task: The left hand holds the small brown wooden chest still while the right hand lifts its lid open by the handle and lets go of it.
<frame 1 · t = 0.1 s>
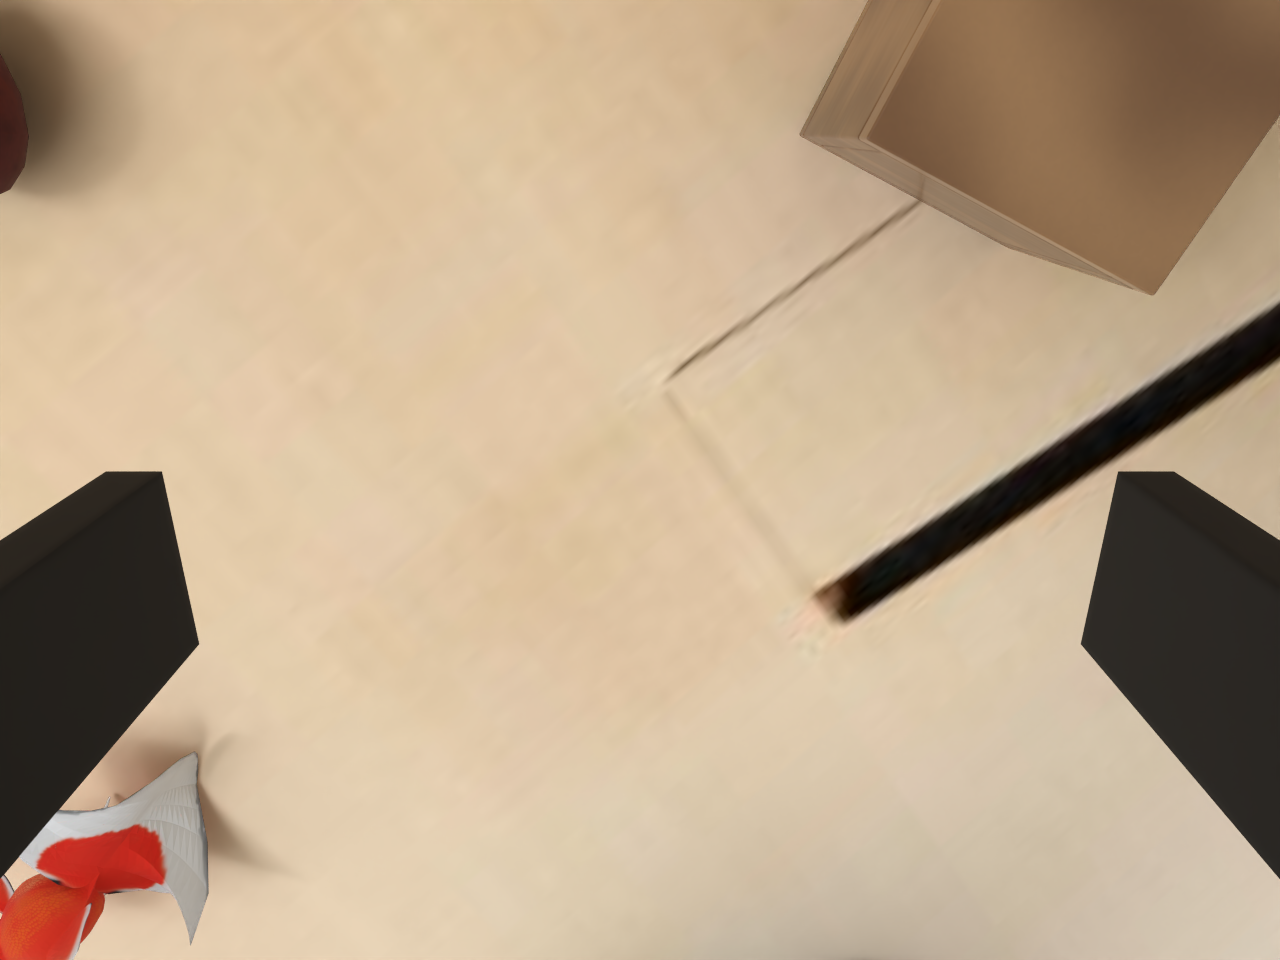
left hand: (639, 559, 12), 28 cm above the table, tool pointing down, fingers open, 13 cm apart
chest: (1000, 27, 35), on the table
fish: (128, 813, 50), on the table
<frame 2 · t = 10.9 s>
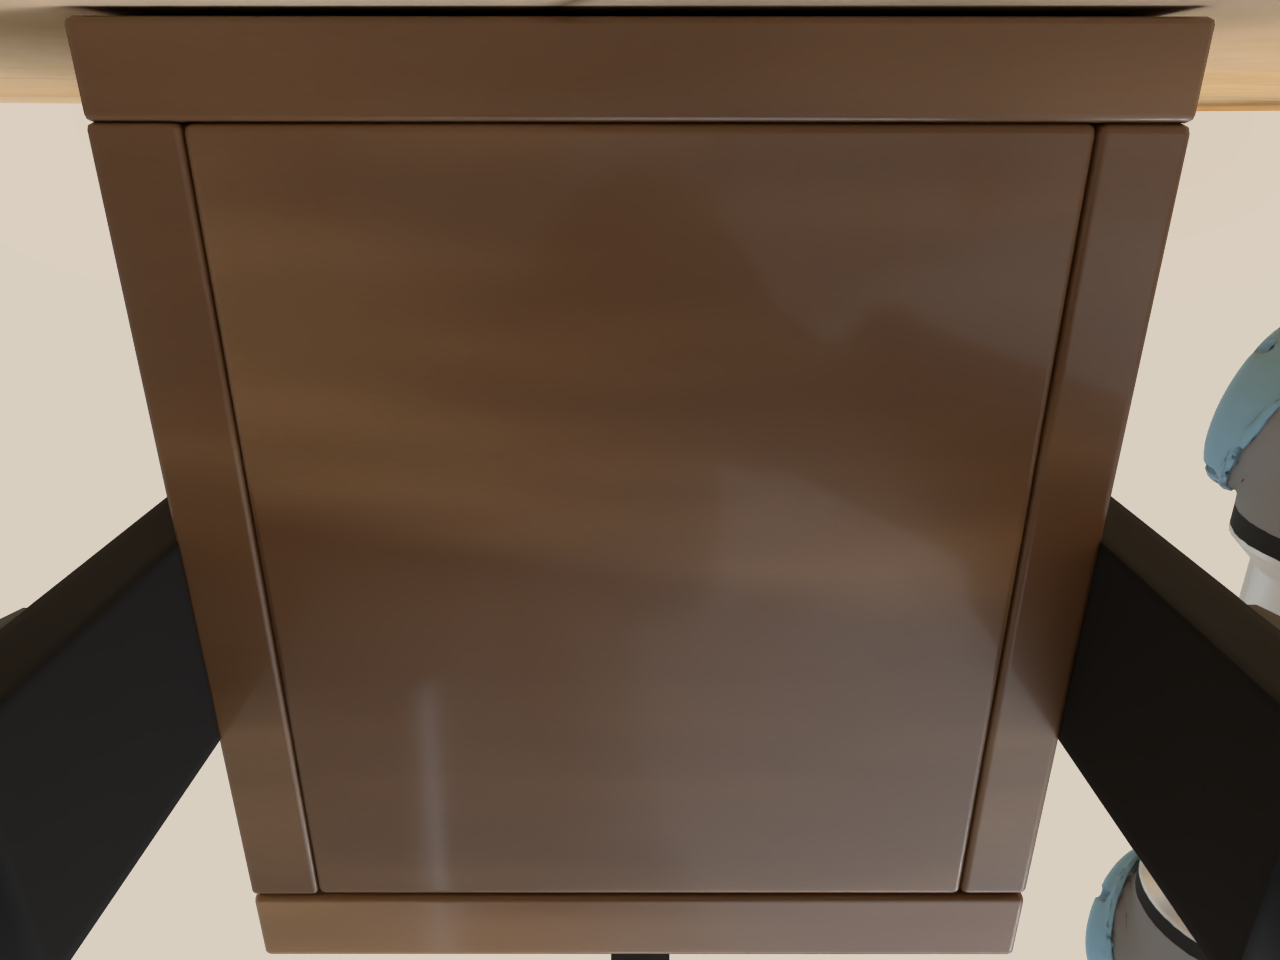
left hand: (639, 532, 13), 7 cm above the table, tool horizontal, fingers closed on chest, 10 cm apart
chest: (639, 62, 14), on the table, touching left hand
lid: (639, 768, 20), point 15 cm above the table, hinge at 0.0°
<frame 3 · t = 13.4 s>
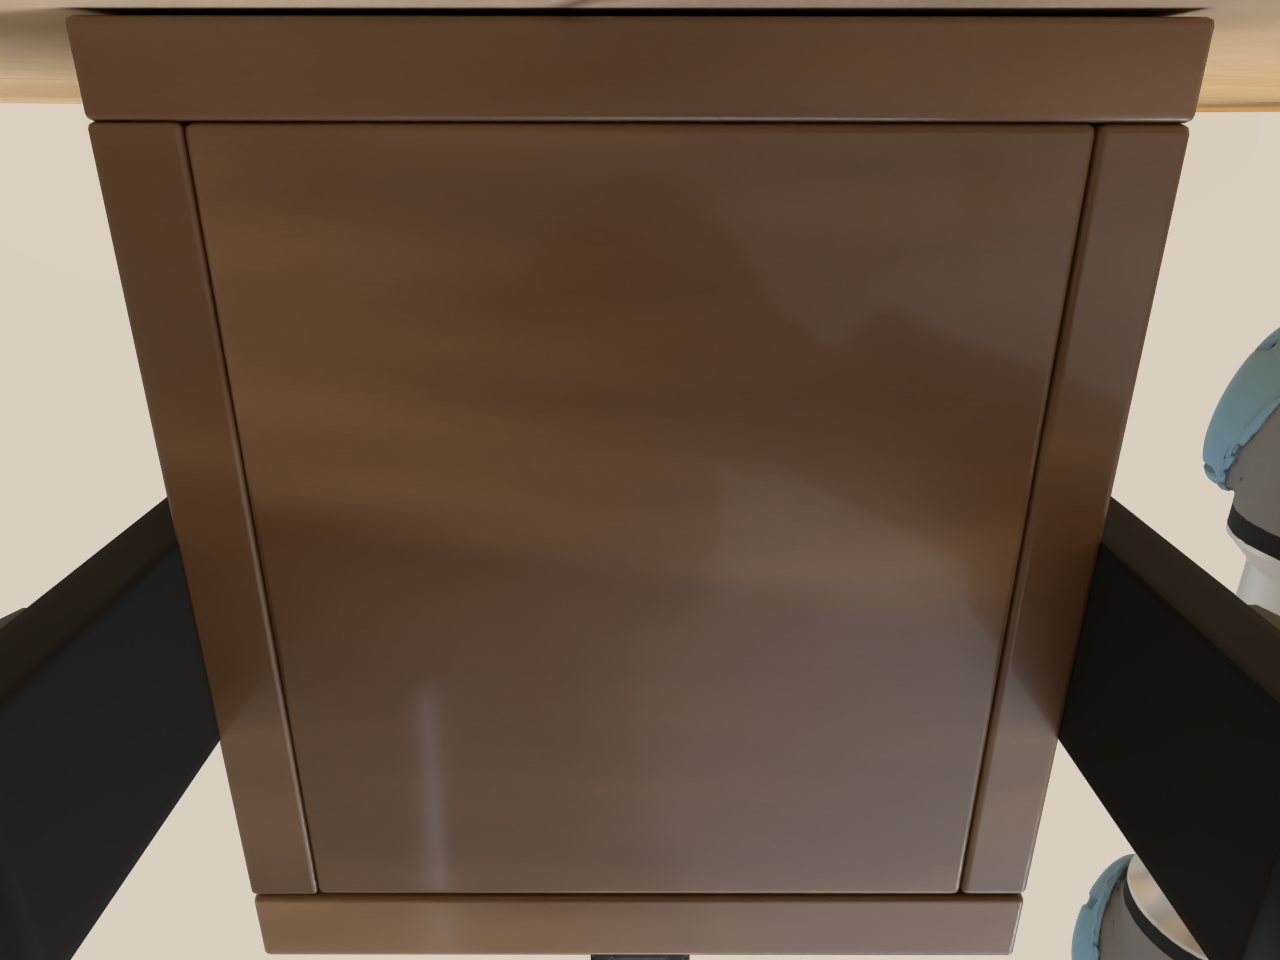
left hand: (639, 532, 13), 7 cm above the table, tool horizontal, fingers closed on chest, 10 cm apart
chest: (640, 63, 14), on the table, touching left hand
lid: (639, 770, 20), point 15 cm above the table, hinge at 0.1°, touching right hand
when the left hand's fingers open (7 cm above the table, at t = 20.3 s): chest stays where it is, on the table.
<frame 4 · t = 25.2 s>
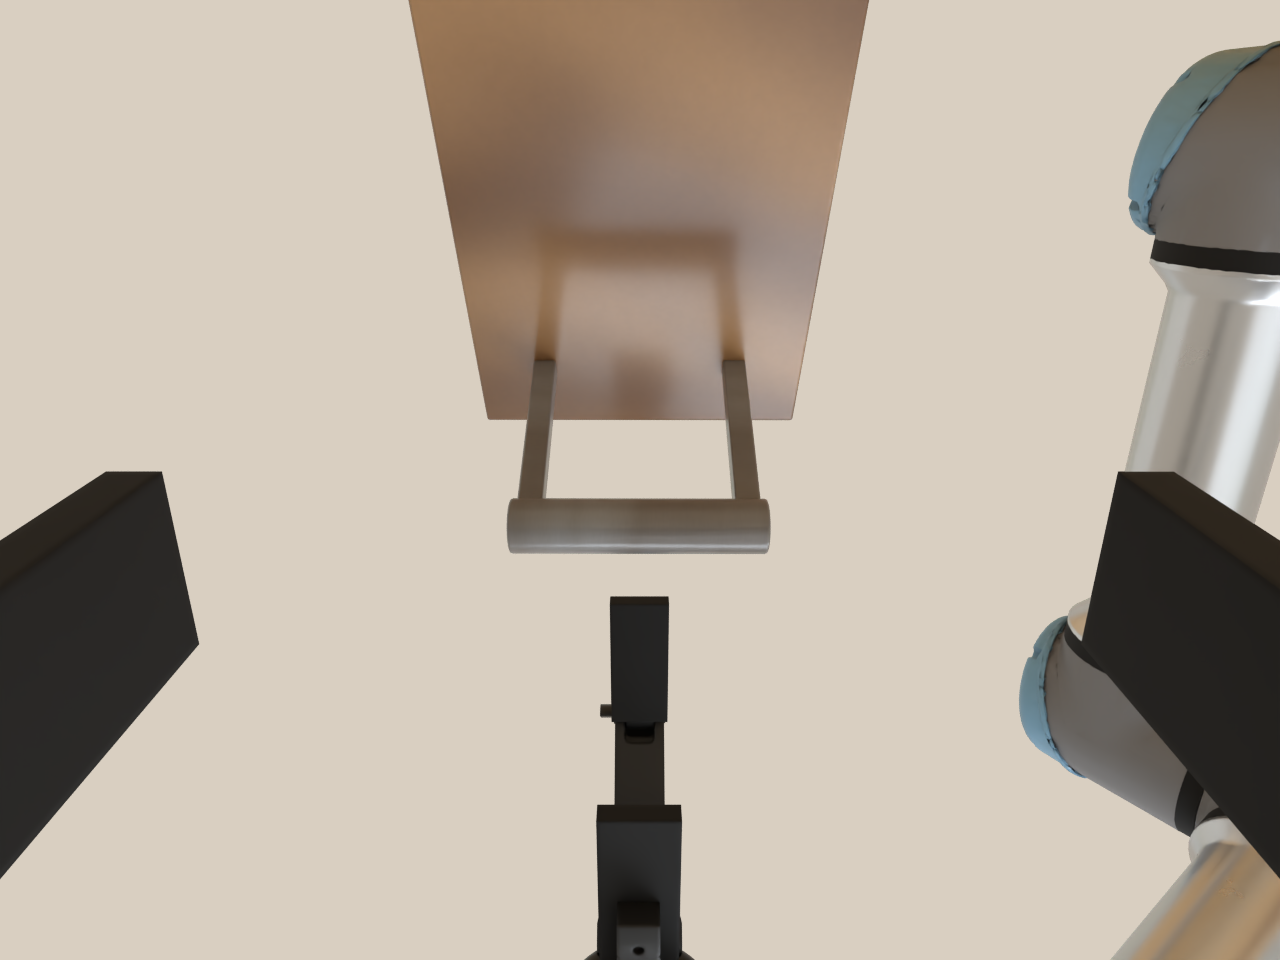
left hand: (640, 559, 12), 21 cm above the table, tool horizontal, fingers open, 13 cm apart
lid: (638, 302, 23), point 19 cm above the table, hinge at 62.4°
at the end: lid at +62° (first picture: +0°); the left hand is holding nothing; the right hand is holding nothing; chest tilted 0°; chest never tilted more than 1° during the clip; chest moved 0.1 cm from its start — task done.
